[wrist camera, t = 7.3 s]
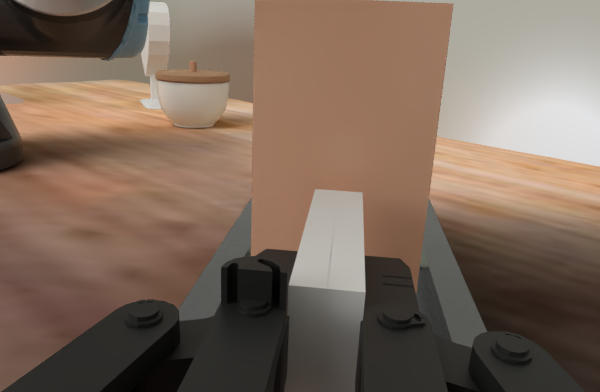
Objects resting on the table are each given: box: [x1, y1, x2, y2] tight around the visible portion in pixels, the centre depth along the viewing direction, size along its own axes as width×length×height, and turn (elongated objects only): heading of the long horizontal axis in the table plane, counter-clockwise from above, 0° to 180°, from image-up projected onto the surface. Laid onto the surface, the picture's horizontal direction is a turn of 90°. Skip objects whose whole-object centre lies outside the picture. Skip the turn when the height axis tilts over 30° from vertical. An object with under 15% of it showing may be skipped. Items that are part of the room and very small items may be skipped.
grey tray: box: [178, 198, 487, 348], centre depth 29 cm, size 28×13×2 cm, turn 174°
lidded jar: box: [155, 61, 230, 128], centre depth 76 cm, size 11×11×9 cm
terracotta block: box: [251, 0, 453, 293], centre depth 20 cm, size 6×6×14 cm
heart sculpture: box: [140, 2, 170, 109], centre depth 94 cm, size 16×5×18 cm, turn 23°
